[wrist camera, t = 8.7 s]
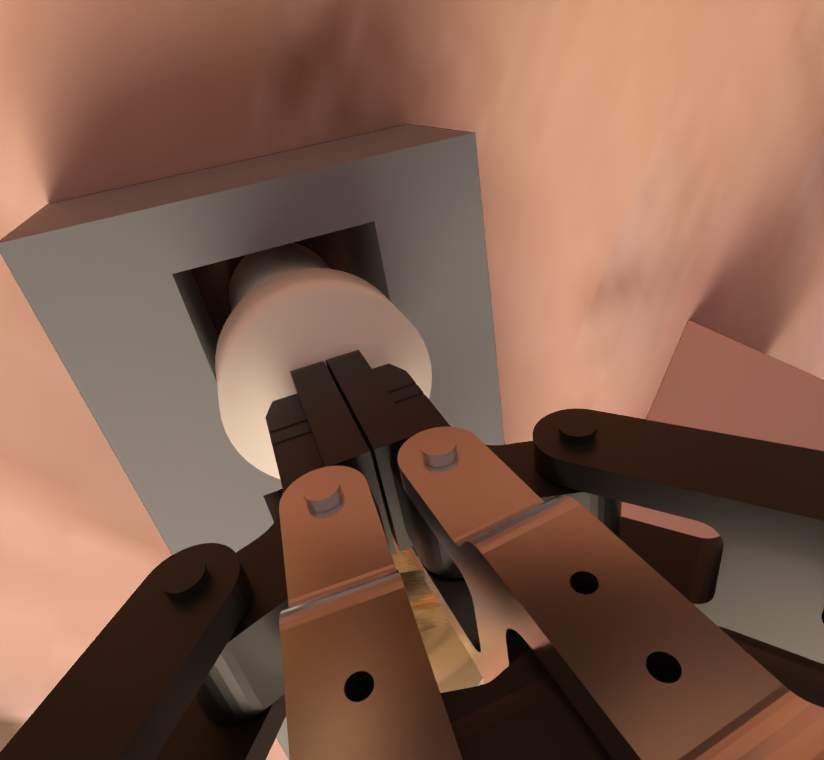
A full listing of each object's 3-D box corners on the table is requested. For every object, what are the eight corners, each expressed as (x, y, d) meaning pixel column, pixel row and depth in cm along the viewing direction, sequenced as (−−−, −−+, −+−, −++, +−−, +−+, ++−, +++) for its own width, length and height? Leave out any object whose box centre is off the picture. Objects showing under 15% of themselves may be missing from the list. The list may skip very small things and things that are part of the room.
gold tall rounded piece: (288, 488, 17) (334, 670, 12) (393, 450, 18) (482, 604, 13) (316, 564, 19) (368, 752, 14) (410, 526, 20) (495, 690, 14)
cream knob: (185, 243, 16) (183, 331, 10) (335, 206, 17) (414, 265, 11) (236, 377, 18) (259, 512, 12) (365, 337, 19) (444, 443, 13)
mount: (47, 204, 15) (-5, 244, 11) (407, 124, 18) (474, 132, 14) (274, 657, 27) (290, 762, 22) (476, 571, 29) (524, 650, 25)
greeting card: (614, 516, 31) (899, 797, 19) (550, 455, 27) (860, 762, 15) (763, 373, 30) (1170, 569, 18) (720, 288, 26) (1209, 465, 14)
